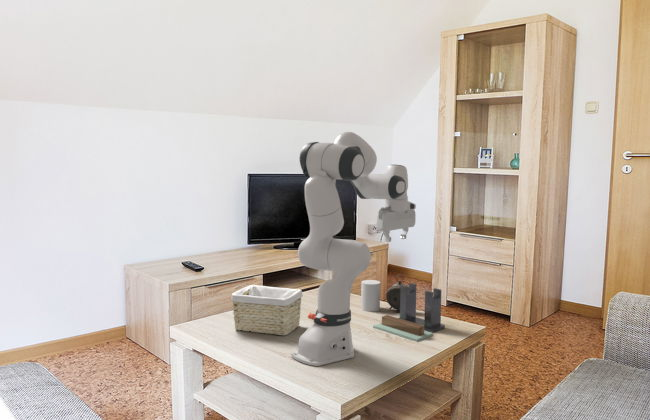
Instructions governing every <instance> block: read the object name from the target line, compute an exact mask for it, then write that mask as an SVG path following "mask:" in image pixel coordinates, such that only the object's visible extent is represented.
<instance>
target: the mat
mask: <svg viewBox="0 0 650 420" xmlns="http://www.w3.org/2000/svg"><path fill="white" fill-rule="evenodd" d="M372 328H373V329H377V330H380V331H382V332H384V333H385V332H386V333H388V334H391V335H395V336H398V337H402V338H404V339H408V340H411V341H414V342H419V341H422V340H425V339H427V338H429V337H431V336H434V333H431V332H428V331H425V330H424V334H423V335H421V336H417V335H414V334H410V333H407V332H404V331H401V330H398V329H394V328H391V327H388V326H385V325H382V322H380V323H377V324H374V325H373V326H372Z"/></svg>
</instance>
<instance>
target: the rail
mask: <svg viewBox="0 0 650 420" xmlns="http://www.w3.org/2000/svg"><path fill="white" fill-rule="evenodd" d="M399 318H400V317H395V316H391V315H388V314H386V315H381V323H382V325H385V326H388V327H391V328H394V329H398V330H401V331H404V332H407V333H410V334H414V335H417V336H421V335H423V334H424V331H425V330H424V326H423V325H420V324H416V323H413V322H410V321H406V320H403V319H399Z"/></svg>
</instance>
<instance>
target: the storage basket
mask: <svg viewBox="0 0 650 420" xmlns="http://www.w3.org/2000/svg"><path fill="white" fill-rule="evenodd" d="M303 295H304V294H303V290H302V289H299V288H297V289H296V288H287V287H275V286H266V285H257V284H250V285H247V286H245V287H242V288H240V289H239V290H236V291H234V292H232V293H231V298H230V299H231V300H230V301H232V309H233V312H232V314H233V319H234V329H235V330H236V329H237V331H240V330H243V331H242V332H249V331H251V333H258V334H264V333H265V335H273V334H274V335H277V336H287V335H289V334H290V333H291V332H293V331H294V330H296V328H297V327H299V326H300V321H301V320H300V318H301V306H302V298H303Z"/></svg>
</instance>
